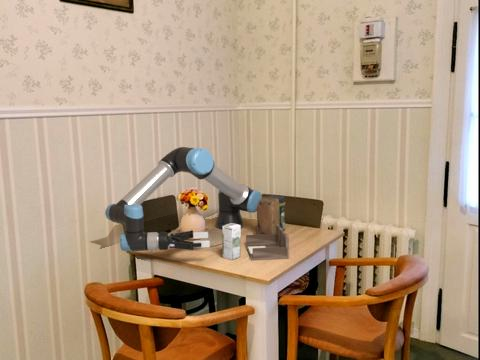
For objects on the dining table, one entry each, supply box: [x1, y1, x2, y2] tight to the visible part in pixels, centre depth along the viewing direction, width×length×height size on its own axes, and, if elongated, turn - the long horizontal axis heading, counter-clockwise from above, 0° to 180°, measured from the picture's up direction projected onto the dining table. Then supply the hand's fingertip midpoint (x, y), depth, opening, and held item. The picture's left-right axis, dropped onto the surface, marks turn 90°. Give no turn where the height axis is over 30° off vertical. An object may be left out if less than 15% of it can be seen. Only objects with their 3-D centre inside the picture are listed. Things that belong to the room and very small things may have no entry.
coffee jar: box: [267, 194, 287, 231], centre depth 237 cm, size 10×8×19 cm
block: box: [256, 196, 280, 235], centre depth 223 cm, size 11×8×20 cm
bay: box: [244, 224, 290, 261], centre depth 200 cm, size 22×16×10 cm
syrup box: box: [221, 223, 242, 261], centre depth 192 cm, size 6×6×14 cm
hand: (208, 239), depth 191 cm, fingers open, 13 cm apart
